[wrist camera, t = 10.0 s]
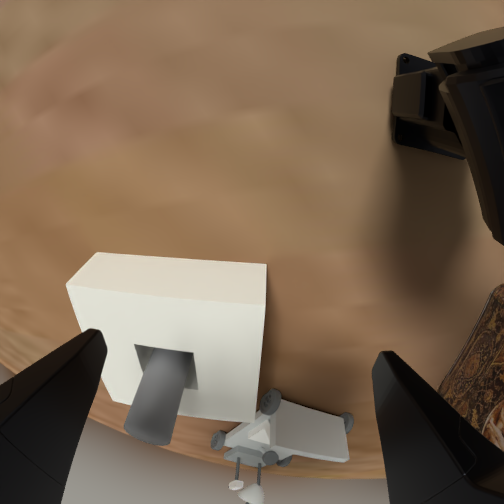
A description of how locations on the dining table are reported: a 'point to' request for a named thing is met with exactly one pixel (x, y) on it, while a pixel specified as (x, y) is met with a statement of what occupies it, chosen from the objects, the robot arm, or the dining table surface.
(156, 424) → the peg
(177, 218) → the dining table surface
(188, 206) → the dining table surface
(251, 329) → the socket block
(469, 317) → the dining table surface
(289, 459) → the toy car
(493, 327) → the book
